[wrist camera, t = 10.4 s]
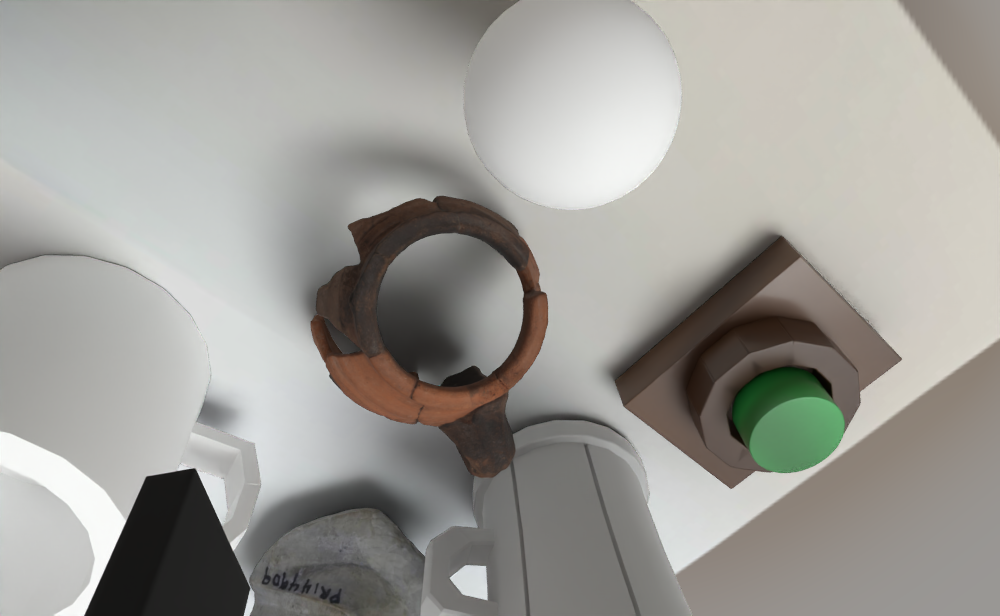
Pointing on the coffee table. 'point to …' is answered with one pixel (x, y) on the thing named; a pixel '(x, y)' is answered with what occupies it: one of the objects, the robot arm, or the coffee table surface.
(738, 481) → the button block
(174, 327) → the mug
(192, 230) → the coffee table surface
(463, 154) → the coffee table surface
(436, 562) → the cup
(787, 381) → the light button
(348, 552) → the fossil
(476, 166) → the coffee table surface
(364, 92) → the coffee table surface
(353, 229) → the broken clay pot
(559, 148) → the lightbulb
